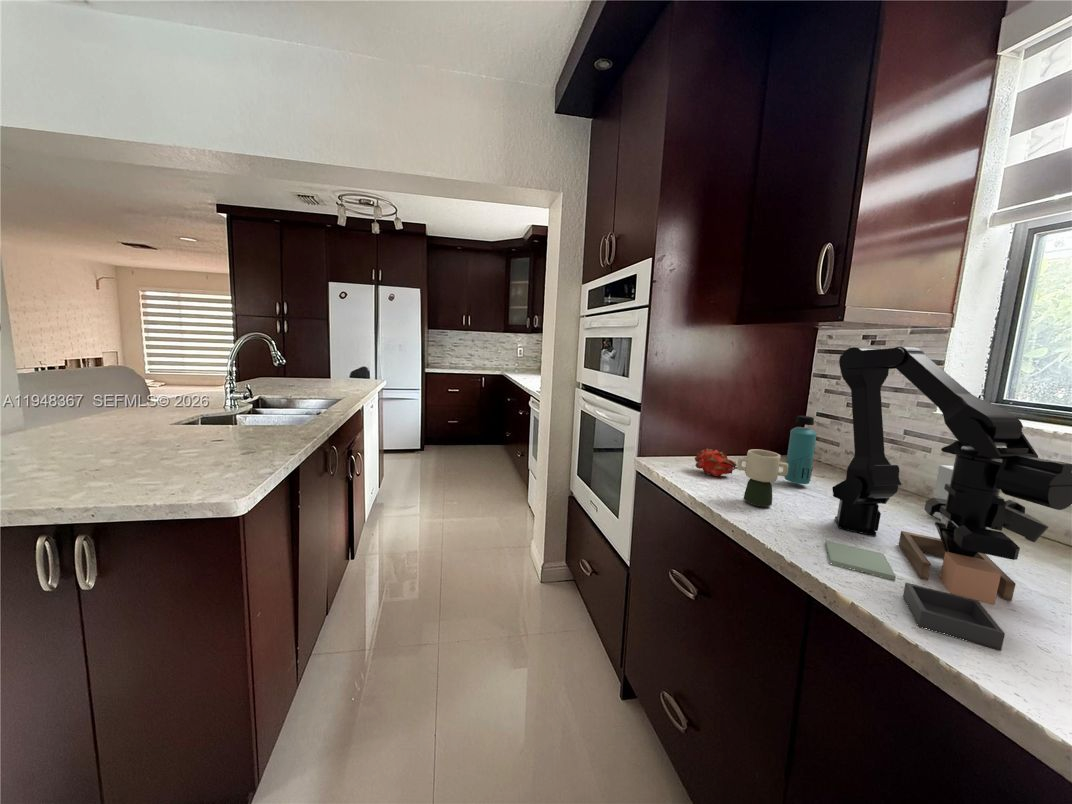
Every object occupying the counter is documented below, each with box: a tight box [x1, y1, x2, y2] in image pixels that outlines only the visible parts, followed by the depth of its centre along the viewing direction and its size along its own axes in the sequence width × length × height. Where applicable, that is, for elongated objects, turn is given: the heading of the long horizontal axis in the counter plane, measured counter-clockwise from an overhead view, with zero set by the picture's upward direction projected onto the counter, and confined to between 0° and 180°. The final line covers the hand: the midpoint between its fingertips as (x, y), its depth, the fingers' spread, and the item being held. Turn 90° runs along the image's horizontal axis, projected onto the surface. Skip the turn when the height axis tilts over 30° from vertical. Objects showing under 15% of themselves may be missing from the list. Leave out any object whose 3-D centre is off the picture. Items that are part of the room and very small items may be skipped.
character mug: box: [736, 448, 788, 508], centre depth 100 cm, size 11×7×13 cm, turn 69°
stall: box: [898, 530, 1017, 602], centre depth 74 cm, size 11×14×3 cm
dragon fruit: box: [694, 448, 738, 479], centre depth 122 cm, size 8×8×12 cm
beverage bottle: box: [783, 415, 818, 485], centre depth 115 cm, size 6×7×20 cm
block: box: [939, 552, 1001, 605], centre depth 67 cm, size 5×5×5 cm
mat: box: [824, 539, 897, 581], centre depth 75 cm, size 9×9×1 cm
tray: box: [902, 582, 1006, 652], centre depth 59 cm, size 8×8×2 cm
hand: (956, 571), depth 71 cm, fingers closed
